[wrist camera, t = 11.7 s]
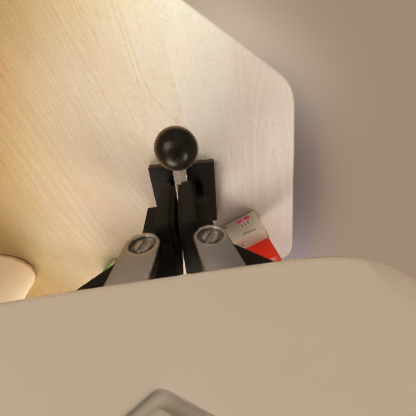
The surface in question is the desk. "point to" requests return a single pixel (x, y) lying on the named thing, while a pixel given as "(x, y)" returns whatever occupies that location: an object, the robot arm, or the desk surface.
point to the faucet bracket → (200, 182)
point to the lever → (176, 151)
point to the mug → (15, 278)
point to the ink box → (251, 236)
